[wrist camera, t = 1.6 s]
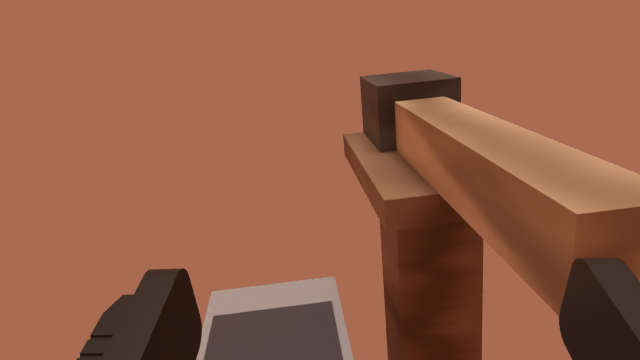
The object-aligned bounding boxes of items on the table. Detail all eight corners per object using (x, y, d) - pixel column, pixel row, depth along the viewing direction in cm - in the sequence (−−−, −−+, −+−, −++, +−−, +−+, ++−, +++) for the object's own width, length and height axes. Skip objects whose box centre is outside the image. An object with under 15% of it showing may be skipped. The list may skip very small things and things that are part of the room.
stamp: (430, 125, 35) (429, 69, 34) (719, 304, 12) (749, 152, 11) (363, 132, 35) (359, 76, 33) (529, 330, 12) (536, 178, 11)
